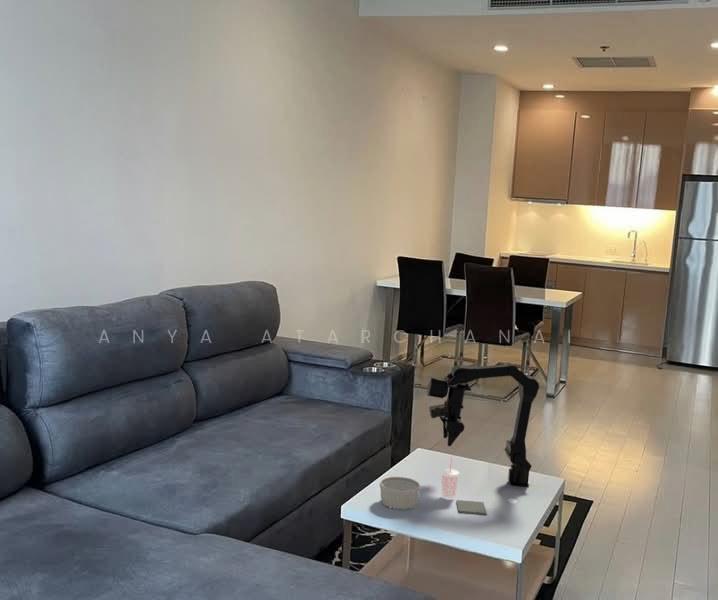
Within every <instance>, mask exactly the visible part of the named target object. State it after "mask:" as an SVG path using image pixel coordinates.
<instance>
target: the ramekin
mask: <svg viewBox="0 0 718 600" xmlns="http://www.w3.org/2000/svg"><path fill="white" fill-rule="evenodd" d="M379 488H380V499H381V503H382V504H383V505H384V506H385V505H386V506H388V507H391V508H395V509H394V510H396V509H407V510H410V508H411V509H414V507H415V506H416V505H417V502H418V498H419V492H420V490H421V485H420V483H419V482H418V481H417V480H415V479H412V478H410V477H403V476H388V477H384V478H382V479H381V480H380V482H379ZM386 506H385V507H386ZM388 507H387V508H388ZM391 508H390V509H391Z"/></svg>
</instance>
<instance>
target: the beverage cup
mask: <svg viewBox="0 0 718 600" xmlns="http://www.w3.org/2000/svg"><path fill="white" fill-rule="evenodd" d="M452 463H453V456H452V457H451V456H450V462H449V468H444V469H443V468H442V469H441V470H440V471H441V473H440V474H441V499H444V500H447V501H453V500H455V499H456V493H457V486H458V481H459V476H460V472H459V470H457V469H453V468H452V465H453V464H452Z"/></svg>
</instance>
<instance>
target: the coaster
mask: <svg viewBox="0 0 718 600" xmlns="http://www.w3.org/2000/svg"><path fill="white" fill-rule="evenodd" d="M455 501H456V506H457V511H458V513H459V514H473V515H484V516H486V515H488V514H487V510H486V506H485V503H484V501H475V500H473V501H472V500H460V499H456V500H455Z"/></svg>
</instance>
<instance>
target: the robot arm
mask: <svg viewBox="0 0 718 600" xmlns="http://www.w3.org/2000/svg"><path fill="white" fill-rule="evenodd" d="M499 377H500V378H501V377H512V378H513V379H514V380H515V381H516V382H518V397H519V401H518V407H517V411H516V412H517V413H516V417H515V423H514V428H513V434H512V437H511V439H510V440H509V439H508V440H506V442H505V448H504V451H505V455H506V457H507V458H508V459H509V461H510V463H511V464H510V468H508V475H507V476H508V477H507V480H508V482H509V484H510V486H516V487H528V486H529V487H530V484H529V476H530V470H531V469H532V464H531V463H530V461H529V460H528V459H527V448H526V437H527V431H528V427H529V426H528V425H529V420H530V416H531V415H530V414H531V409H532V404H533V402H534V400H535V399H536V397H537V395H538V392H539V390H540V389H539V388H540V383H539V382H538V381H537V380H536V378H534V377H533V376H531V375H529V374H525V373H523V372H522V371H521V370H520V369H519V368H518V367H517V366H516V365H515V364H514V363H512V362H511V363H509V362H508V363H506V364H505V363H504V364H494V365H481V366H473V365H466V364H456V365H453V367H452V368H451V371H450V373H448V375H446V376H445V377H444V378H443V379H442V378H436V377H433V376H431V377H430V380H429V381H428V382H429V383H428V384H427V386H426V387H427V389H426V396H427V397H430V398H431V397H432V398H438V399H444V398H446V397H447V398H446V399H445V400H444V403H443V404H435V405H431V406H429V407H428V409H429V415H430V418H431V419H436V418H438V417H439V418H440V419H439V420H440V421H441V422H442V433H443V434H442V435H443V439H447V446H448V447H451V446H452V445H453V444H454V442H455V441H456V440H457V438H458V437H459V436H460V434H461V433H463V432H464V431H465V424H464V422H463V421H462V416H461V414H462V413H461V412H462V410H464V404H463V403H464V397H465V393H466V391H468V392H470V391H472V389H471V387H470V386H469V383H471V382H473V381H476V380H479V379H488V378H499Z"/></svg>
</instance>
